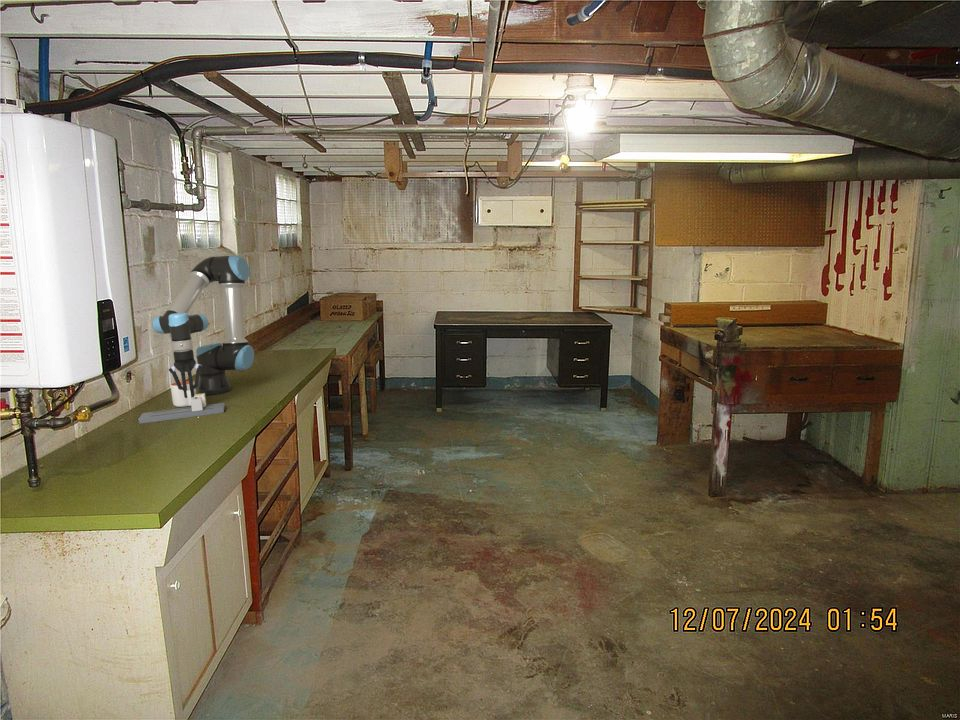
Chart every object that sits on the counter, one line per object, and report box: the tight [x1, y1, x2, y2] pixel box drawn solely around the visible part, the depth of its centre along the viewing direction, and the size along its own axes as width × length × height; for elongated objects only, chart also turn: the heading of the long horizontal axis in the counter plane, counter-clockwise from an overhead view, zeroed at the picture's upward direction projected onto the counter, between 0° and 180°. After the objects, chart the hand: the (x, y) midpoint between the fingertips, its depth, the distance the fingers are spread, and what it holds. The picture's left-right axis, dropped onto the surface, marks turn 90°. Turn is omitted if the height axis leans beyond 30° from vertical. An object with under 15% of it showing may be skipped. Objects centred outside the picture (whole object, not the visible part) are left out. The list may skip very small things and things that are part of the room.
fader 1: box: [194, 393, 207, 407], centre depth 272 cm, size 4×4×5 cm
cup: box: [170, 380, 197, 408], centre depth 285 cm, size 10×10×10 cm
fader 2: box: [190, 397, 203, 412], centre depth 266 cm, size 4×4×5 cm
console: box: [138, 402, 226, 425], centre depth 268 cm, size 10×32×2 cm, turn 109°
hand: (190, 404), depth 271 cm, fingers closed
